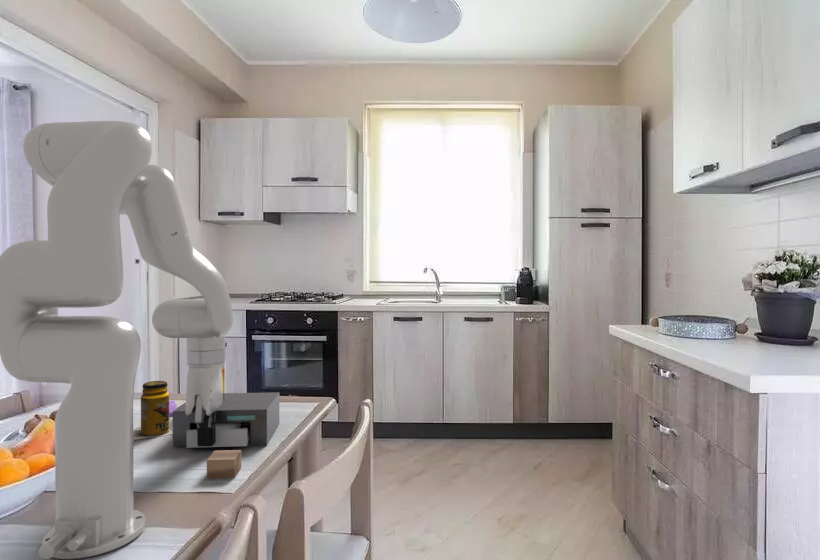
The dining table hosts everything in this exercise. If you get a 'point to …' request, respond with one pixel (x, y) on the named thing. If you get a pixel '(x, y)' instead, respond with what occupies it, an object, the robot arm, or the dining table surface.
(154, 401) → the condiment
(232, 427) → the disc
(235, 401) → the player
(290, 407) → the dining table surface
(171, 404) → the sponges
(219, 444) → the tray
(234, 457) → the walnut block
